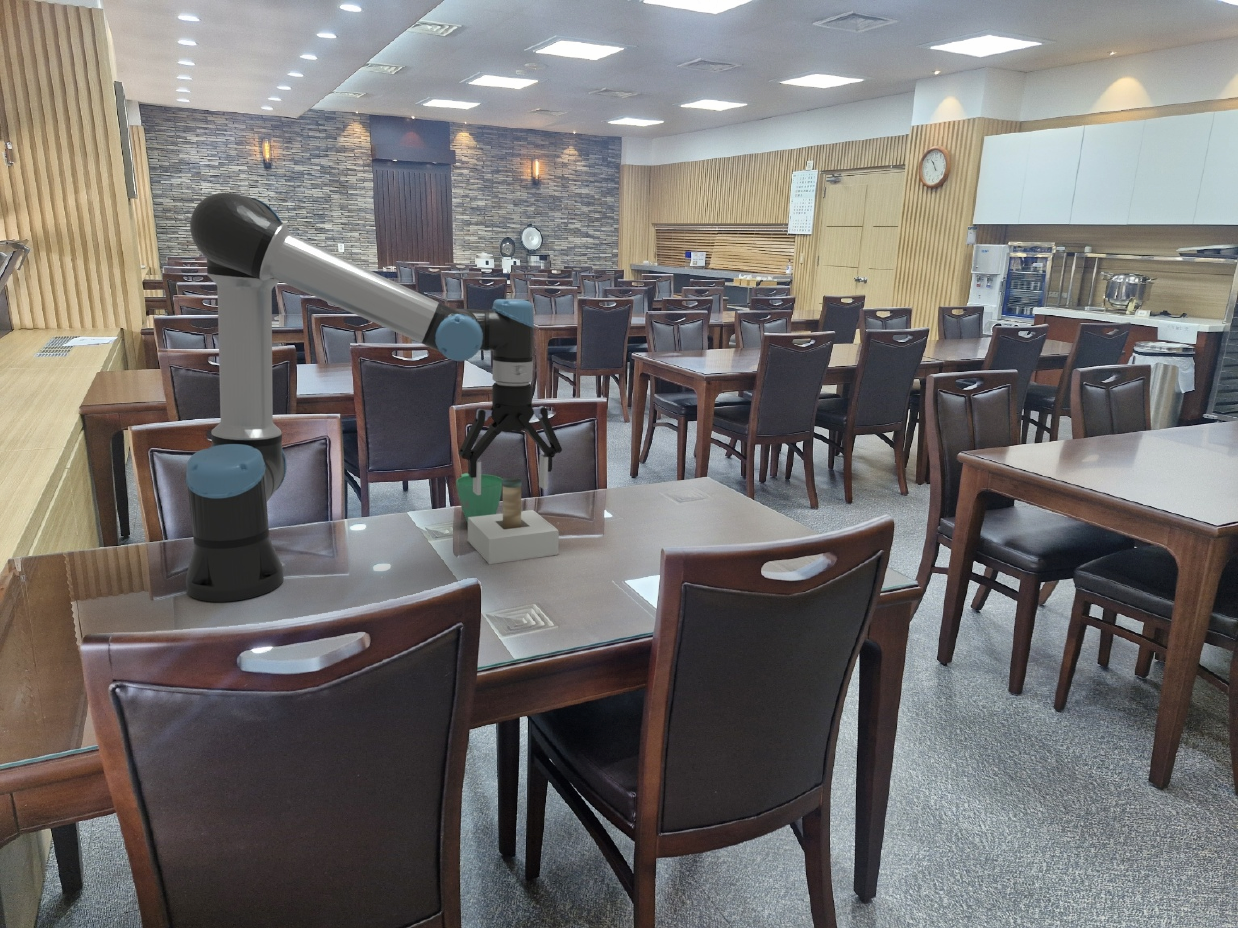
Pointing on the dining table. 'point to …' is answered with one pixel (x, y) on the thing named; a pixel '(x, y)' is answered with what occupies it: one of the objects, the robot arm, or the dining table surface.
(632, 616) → the dining table surface
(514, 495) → the peg
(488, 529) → the socket block
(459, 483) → the mug
